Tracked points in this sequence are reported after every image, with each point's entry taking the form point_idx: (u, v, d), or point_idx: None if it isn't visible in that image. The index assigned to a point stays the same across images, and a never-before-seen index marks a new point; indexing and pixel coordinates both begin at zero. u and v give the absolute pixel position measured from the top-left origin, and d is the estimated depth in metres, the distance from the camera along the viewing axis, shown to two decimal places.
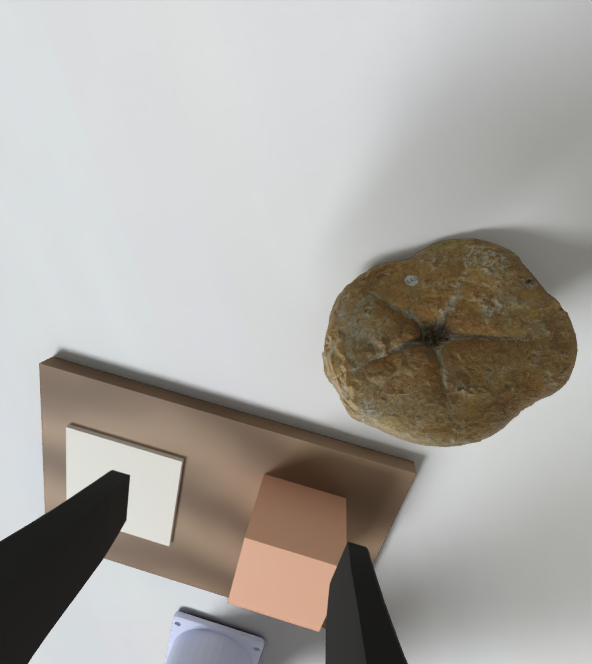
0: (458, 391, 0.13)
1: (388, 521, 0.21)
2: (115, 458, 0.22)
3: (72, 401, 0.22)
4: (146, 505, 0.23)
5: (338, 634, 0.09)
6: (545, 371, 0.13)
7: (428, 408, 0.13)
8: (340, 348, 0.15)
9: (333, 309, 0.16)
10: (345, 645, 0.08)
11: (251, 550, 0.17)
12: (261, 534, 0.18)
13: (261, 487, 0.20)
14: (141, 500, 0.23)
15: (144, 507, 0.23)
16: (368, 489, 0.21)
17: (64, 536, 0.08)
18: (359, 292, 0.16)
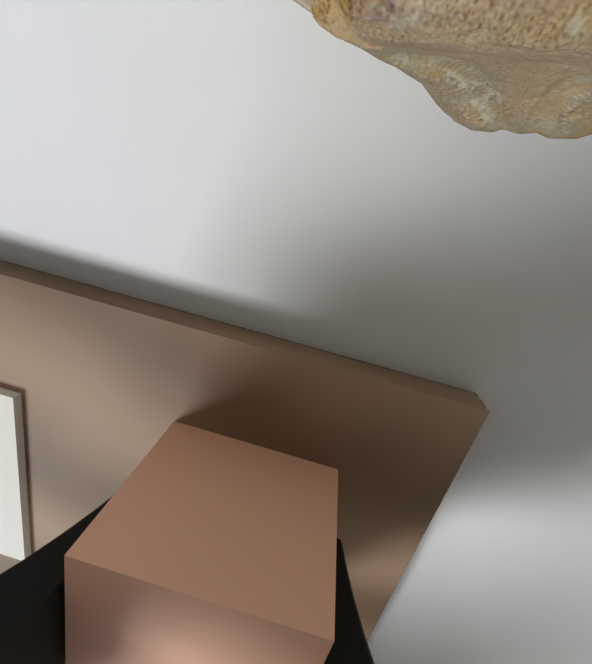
0: None
1: (423, 516, 0.11)
2: None
3: None
4: None
5: None
6: None
7: None
8: None
9: None
10: None
11: (88, 588, 0.07)
12: (117, 546, 0.07)
13: (158, 443, 0.10)
14: None
15: None
16: (383, 449, 0.10)
17: None
18: None
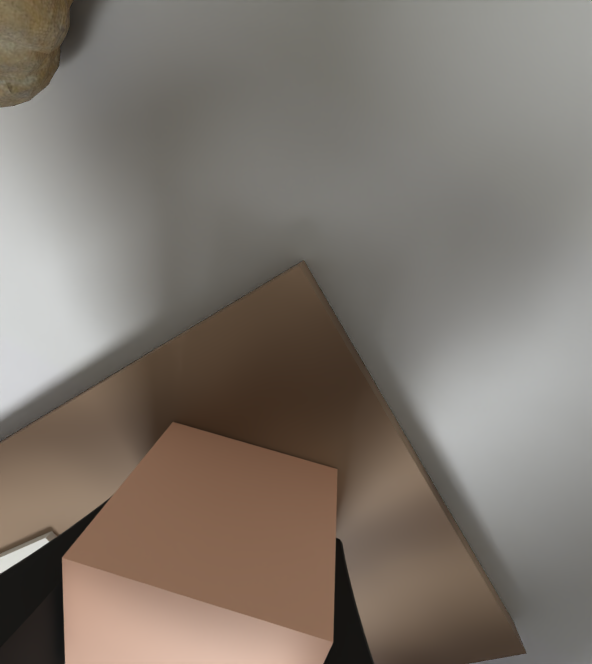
0: None
1: (364, 396, 0.10)
2: None
3: None
4: None
5: None
6: None
7: None
8: None
9: None
10: None
11: (86, 590, 0.07)
12: (115, 548, 0.07)
13: (157, 445, 0.10)
14: None
15: None
16: (271, 369, 0.10)
17: None
18: None
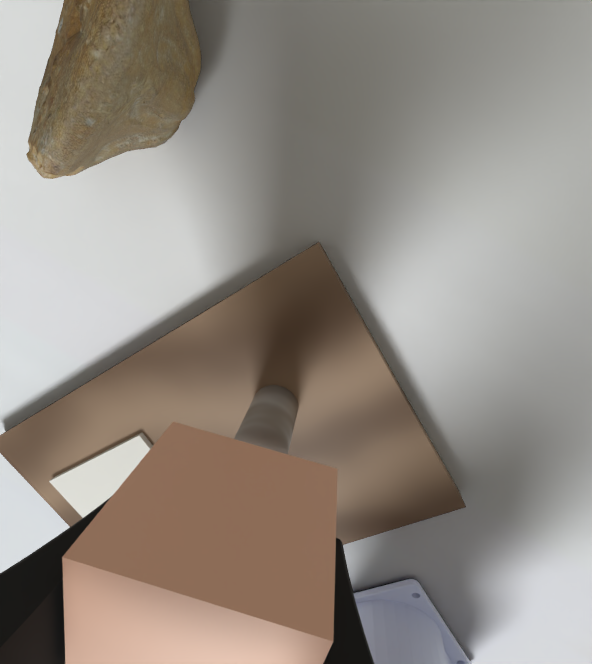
0: (83, 14, 0.09)
1: (356, 325, 0.16)
2: (101, 479, 0.21)
3: (34, 455, 0.21)
4: None
5: None
6: None
7: (70, 63, 0.09)
8: None
9: None
10: None
11: (87, 589, 0.07)
12: (115, 547, 0.07)
13: (157, 444, 0.10)
14: None
15: None
16: (299, 309, 0.16)
17: None
18: (39, 90, 0.13)
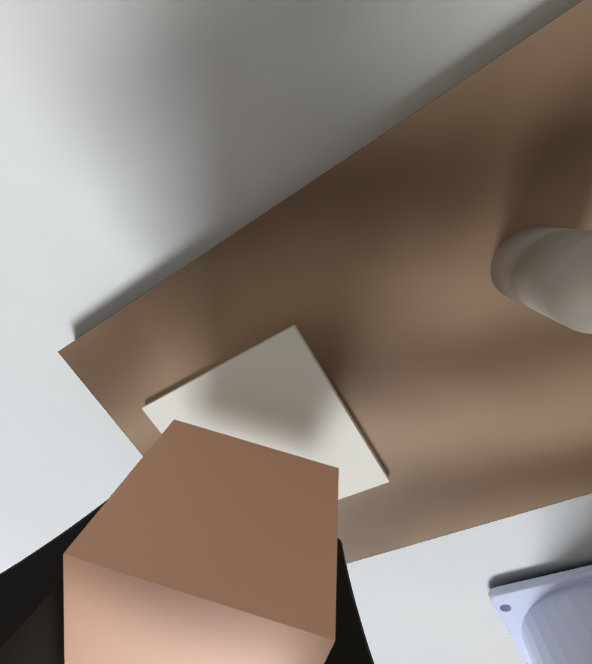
0: None
1: None
2: (221, 401, 0.14)
3: (122, 369, 0.15)
4: (310, 440, 0.14)
5: None
6: None
7: None
8: None
9: None
10: None
11: (87, 586, 0.07)
12: (116, 545, 0.07)
13: (158, 442, 0.10)
14: (298, 437, 0.14)
15: (310, 445, 0.14)
16: None
17: None
18: None
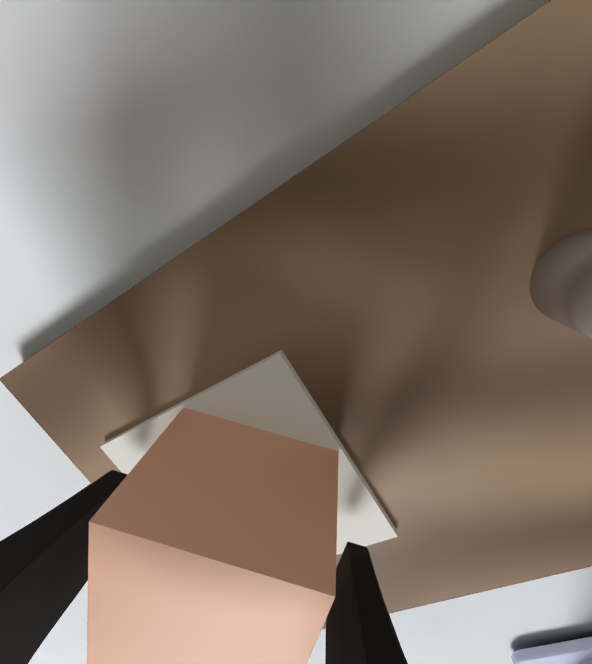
0: None
1: None
2: None
3: (76, 401, 0.12)
4: None
5: (338, 634, 0.09)
6: None
7: None
8: None
9: None
10: (345, 645, 0.08)
11: (110, 552, 0.07)
12: (136, 514, 0.08)
13: (170, 427, 0.10)
14: None
15: None
16: None
17: (64, 536, 0.08)
18: None
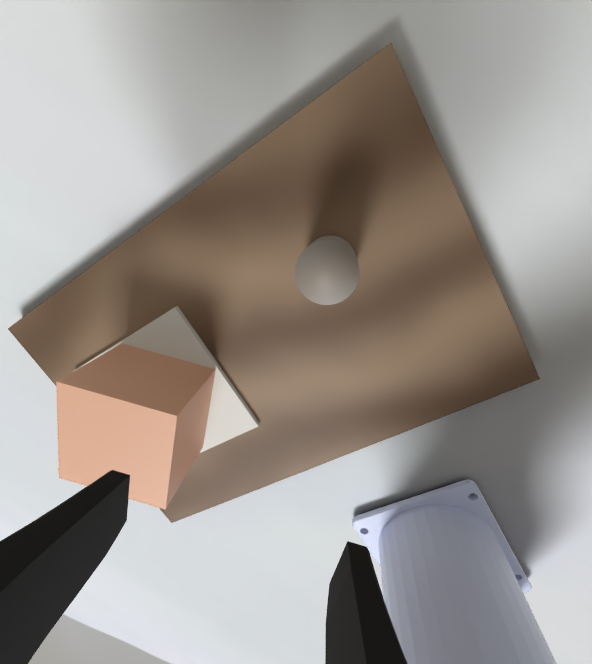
0: None
1: (429, 149, 0.14)
2: None
3: (56, 342, 0.19)
4: None
5: (338, 634, 0.09)
6: None
7: None
8: None
9: None
10: (345, 645, 0.08)
11: (67, 399, 0.14)
12: (81, 381, 0.15)
13: (110, 351, 0.17)
14: None
15: None
16: (364, 133, 0.14)
17: (64, 536, 0.08)
18: None
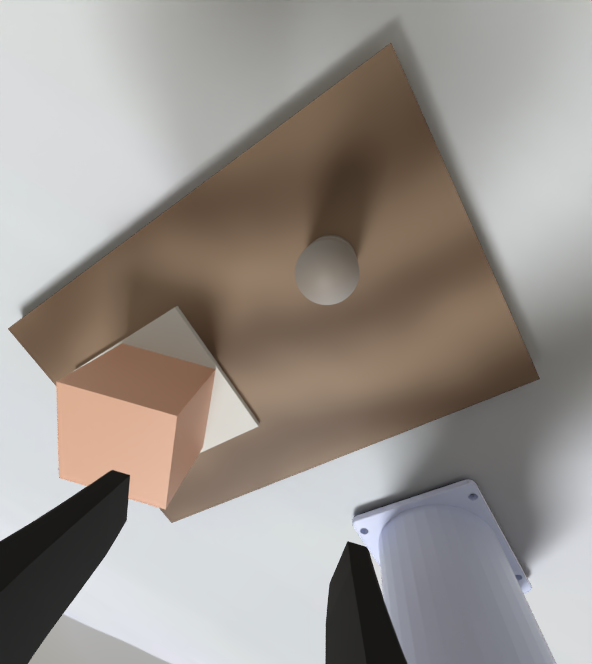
0: None
1: (429, 149, 0.14)
2: None
3: (56, 342, 0.19)
4: None
5: (338, 634, 0.09)
6: None
7: None
8: None
9: None
10: (345, 645, 0.08)
11: (67, 399, 0.14)
12: (81, 381, 0.15)
13: (110, 351, 0.17)
14: None
15: None
16: (364, 133, 0.14)
17: (64, 536, 0.08)
18: None
